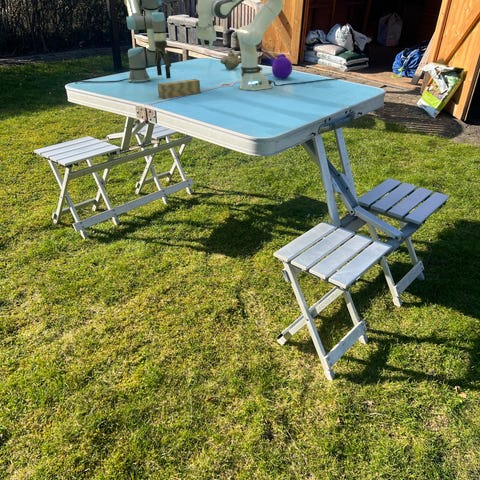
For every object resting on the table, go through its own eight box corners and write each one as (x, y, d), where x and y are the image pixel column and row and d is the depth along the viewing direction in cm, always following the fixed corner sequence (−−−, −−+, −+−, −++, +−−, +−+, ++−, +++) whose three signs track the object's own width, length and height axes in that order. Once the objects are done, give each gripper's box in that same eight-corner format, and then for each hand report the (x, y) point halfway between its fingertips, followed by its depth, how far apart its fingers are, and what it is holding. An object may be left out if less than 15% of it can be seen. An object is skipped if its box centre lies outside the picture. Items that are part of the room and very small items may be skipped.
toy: (277, 73, 354) (291, 83, 334) (257, 69, 347) (271, 79, 326) (283, 52, 346) (298, 62, 326) (263, 47, 339) (277, 57, 318)
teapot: (224, 71, 366) (223, 51, 359) (217, 69, 375) (216, 50, 367) (246, 68, 375) (246, 49, 368) (239, 67, 384) (239, 48, 376)
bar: (162, 98, 289) (161, 85, 284) (158, 97, 293) (157, 84, 289) (200, 92, 301) (199, 80, 297) (196, 91, 305) (195, 78, 301)
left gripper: (174, 41, 268) (177, 78, 278) (158, 38, 286) (161, 73, 297) (163, 42, 264) (166, 80, 275) (147, 39, 283) (151, 74, 293)
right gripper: (218, 24, 277) (219, 48, 284) (202, 22, 292) (203, 45, 299) (209, 25, 274) (210, 49, 281) (194, 23, 289) (195, 46, 296)
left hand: (164, 76), depth 286 cm, fingers open, 13 cm apart
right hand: (207, 47), depth 290 cm, fingers open, 8 cm apart
